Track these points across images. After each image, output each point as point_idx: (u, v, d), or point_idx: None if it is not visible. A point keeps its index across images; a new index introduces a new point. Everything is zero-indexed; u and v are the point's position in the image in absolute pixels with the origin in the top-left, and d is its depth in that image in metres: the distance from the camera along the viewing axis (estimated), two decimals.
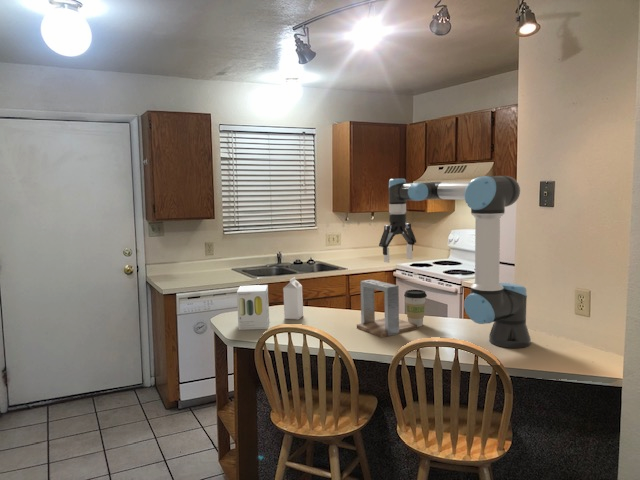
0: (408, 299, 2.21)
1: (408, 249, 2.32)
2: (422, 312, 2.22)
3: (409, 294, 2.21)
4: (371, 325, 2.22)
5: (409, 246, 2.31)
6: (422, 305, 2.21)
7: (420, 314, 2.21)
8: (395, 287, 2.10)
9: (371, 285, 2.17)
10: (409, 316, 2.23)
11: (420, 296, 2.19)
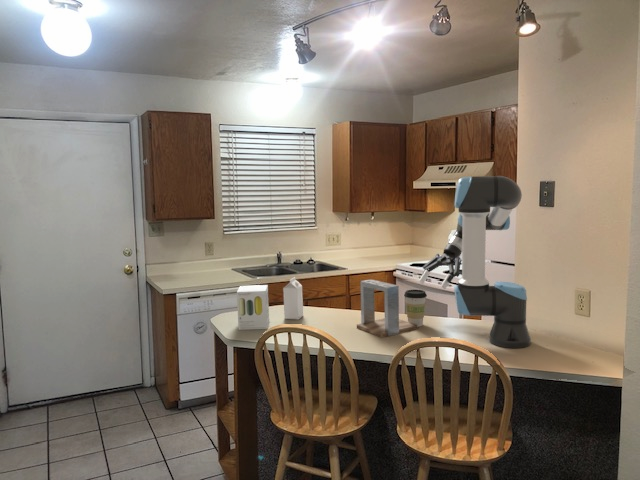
0: (408, 299, 2.21)
1: None
2: (422, 312, 2.22)
3: (409, 294, 2.21)
4: (371, 325, 2.22)
5: None
6: (422, 305, 2.21)
7: (420, 314, 2.21)
8: (395, 287, 2.10)
9: (371, 285, 2.17)
10: (409, 316, 2.23)
11: (420, 296, 2.19)
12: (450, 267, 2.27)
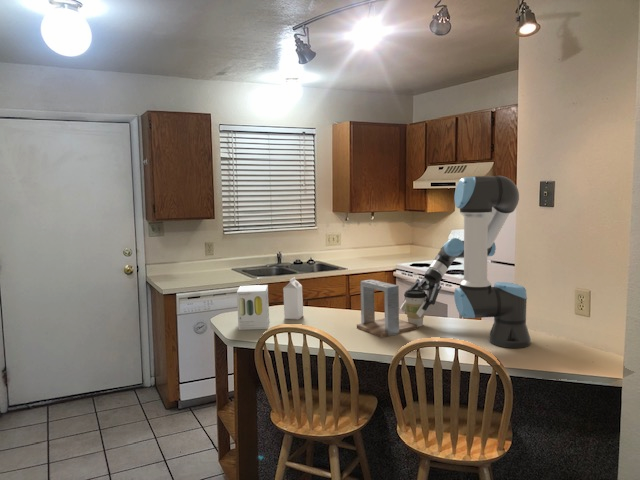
0: (408, 299, 2.22)
1: None
2: None
3: (409, 294, 2.21)
4: (371, 325, 2.22)
5: None
6: None
7: None
8: (395, 287, 2.10)
9: (371, 285, 2.17)
10: (409, 316, 2.23)
11: (420, 296, 2.19)
12: (427, 294, 2.22)
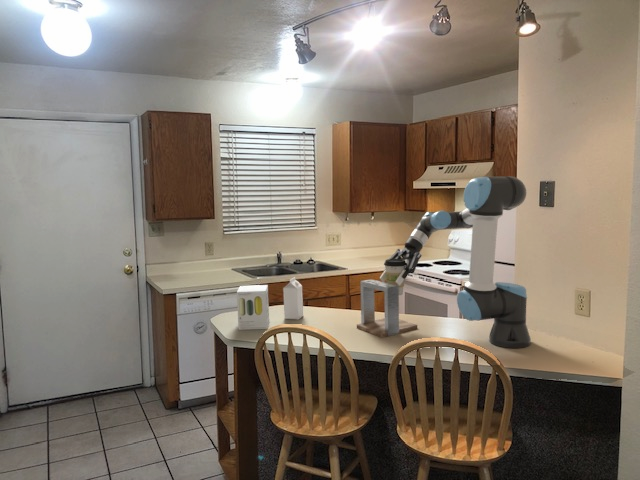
0: (388, 268, 2.19)
1: None
2: None
3: (388, 262, 2.18)
4: (371, 325, 2.22)
5: None
6: None
7: None
8: (395, 287, 2.10)
9: (371, 285, 2.17)
10: None
11: (399, 264, 2.17)
12: (407, 262, 2.19)
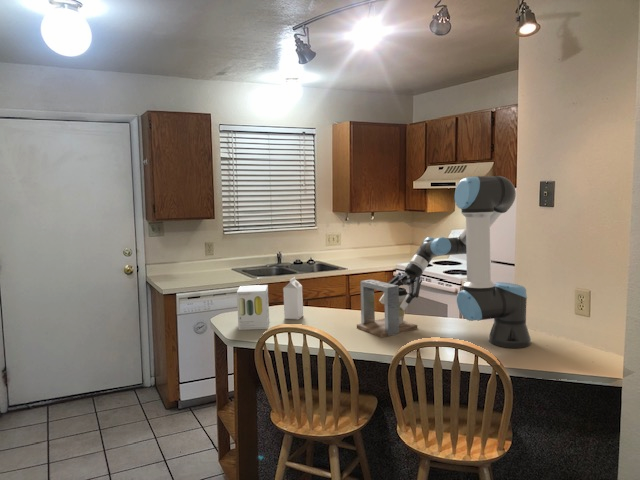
0: None
1: None
2: (402, 310, 2.21)
3: None
4: (371, 325, 2.22)
5: None
6: None
7: (401, 311, 2.20)
8: (395, 287, 2.10)
9: (371, 285, 2.17)
10: None
11: (400, 294, 2.18)
12: (410, 287, 2.20)
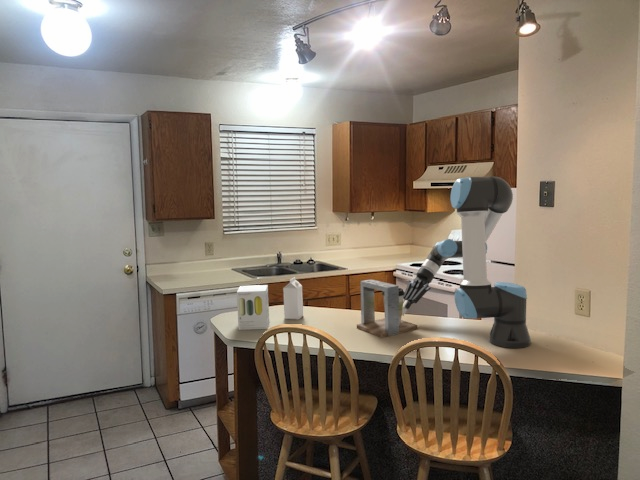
0: None
1: None
2: (400, 310, 2.20)
3: None
4: (371, 325, 2.22)
5: None
6: (400, 303, 2.19)
7: (399, 312, 2.20)
8: (395, 287, 2.10)
9: (371, 285, 2.17)
10: None
11: None
12: (413, 293, 2.28)
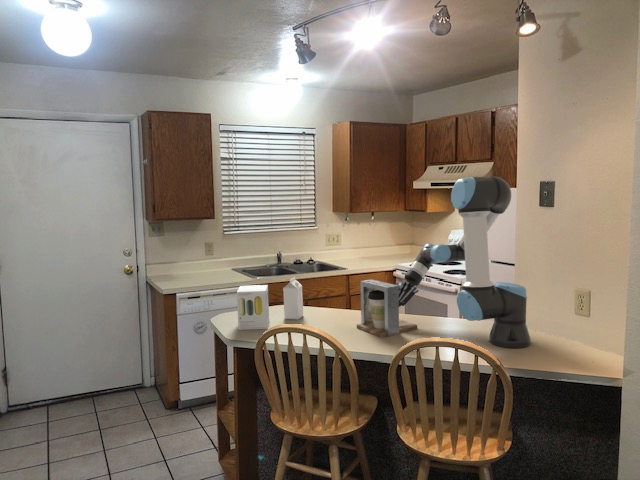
0: (372, 301, 2.14)
1: None
2: None
3: (373, 296, 2.14)
4: (371, 325, 2.22)
5: None
6: None
7: None
8: (395, 287, 2.10)
9: (371, 285, 2.17)
10: (374, 318, 2.16)
11: None
12: (401, 295, 2.23)
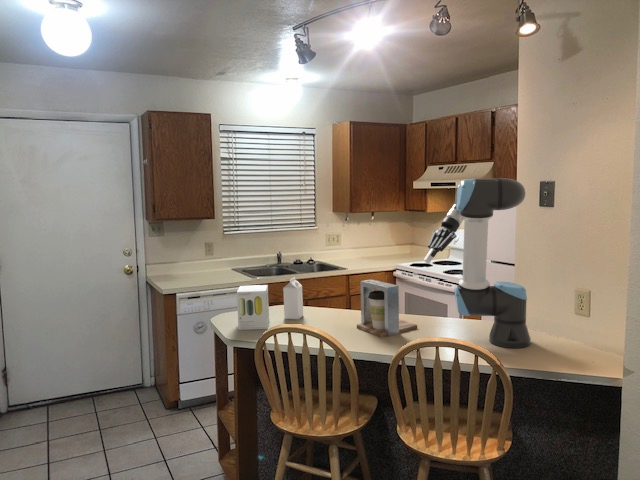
0: (373, 301, 2.14)
1: None
2: None
3: (374, 296, 2.13)
4: (371, 325, 2.22)
5: None
6: None
7: None
8: (395, 287, 2.10)
9: (371, 285, 2.17)
10: (374, 318, 2.16)
11: None
12: (439, 241, 2.25)
